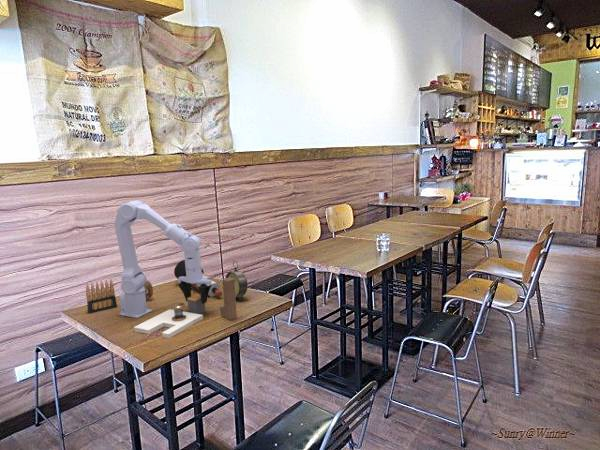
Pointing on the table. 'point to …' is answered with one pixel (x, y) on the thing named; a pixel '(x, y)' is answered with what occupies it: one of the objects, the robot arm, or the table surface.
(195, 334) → the table surface
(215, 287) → the cable
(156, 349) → the table surface
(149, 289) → the brown oval slab
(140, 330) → the notched board
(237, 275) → the alarm clock
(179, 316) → the bronze knob
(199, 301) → the grey and orange block
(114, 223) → the robot arm
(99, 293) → the ammunition clip
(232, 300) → the wooden block
